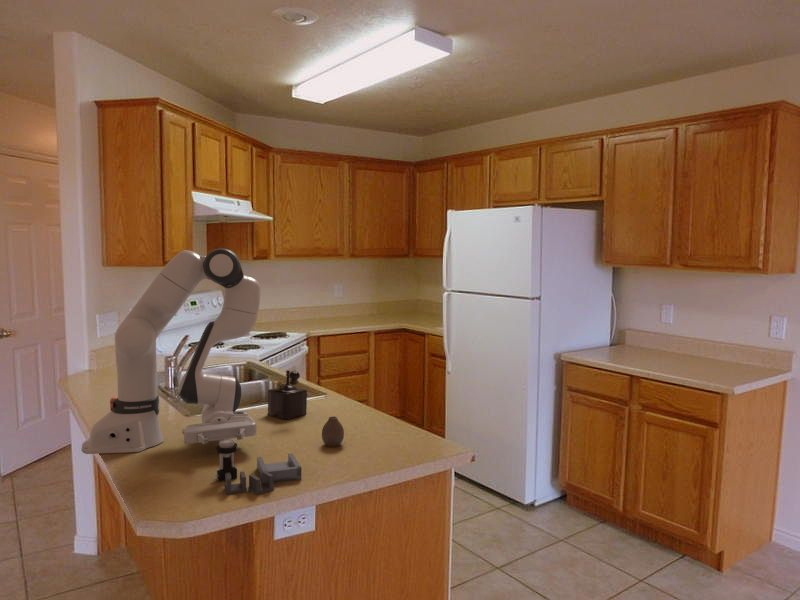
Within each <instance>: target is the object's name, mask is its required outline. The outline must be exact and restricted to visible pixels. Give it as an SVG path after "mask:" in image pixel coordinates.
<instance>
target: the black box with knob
mask: <svg viewBox="0 0 800 600" xmlns="http://www.w3.org/2000/svg"><path fill="white" fill-rule="evenodd" d="M285 376H286V382H285V383H284V384H282V385H279V386H278V387H276V388H275V387H274V388H270V389H269V388H268V390H267V415H268V416H271V417H273V418H277V419H281V420H285V421H287V420H292V419H296V418H300V417H304V416H306V415H307V403H308V390H307V389H304V388H302V387H301V388H300V387H298V386H297V387H296V385H298V384H299V383H300V382H299V378H300V377H301V374H300V373H299V371H296V370H292V371H290V370H289V369H287V370H286V372H285Z"/></svg>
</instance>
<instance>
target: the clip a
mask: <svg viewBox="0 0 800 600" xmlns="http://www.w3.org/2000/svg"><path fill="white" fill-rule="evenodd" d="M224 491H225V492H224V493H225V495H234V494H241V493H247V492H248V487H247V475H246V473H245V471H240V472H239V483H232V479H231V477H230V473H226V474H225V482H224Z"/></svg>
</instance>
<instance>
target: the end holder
mask: <svg viewBox="0 0 800 600" xmlns="http://www.w3.org/2000/svg"><path fill="white" fill-rule="evenodd" d="M287 457H288V458H287V461H281V462H280V461H279V462H270V463H265V461H264V460H263V459H264V458H263V457H262V456H257V457H256V469H257V472H258V474H259V478H260V480H262V472H263V471H267V472H268V473H270V474H272V475H273V484H278V483H286V482H294V481H300V480H302V466H301V465H300V463H299V462H298V460H297V458H296V456H295V454H294V453H288V456H287Z"/></svg>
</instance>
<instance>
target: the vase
mask: <svg viewBox="0 0 800 600" xmlns="http://www.w3.org/2000/svg"><path fill="white" fill-rule="evenodd" d="M344 430H345V429H344V427H343V425H342V423H341V422H340V421H339V419H338V416H330V417H328V419H327V421H326V423H324V424H323V427H322V429H321V439H322V442H323V443H324V445H325V446H327V447H329V448H336V447H339V446H340V445H341V444H342V443H343V441H344V437H345V431H344Z"/></svg>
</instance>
